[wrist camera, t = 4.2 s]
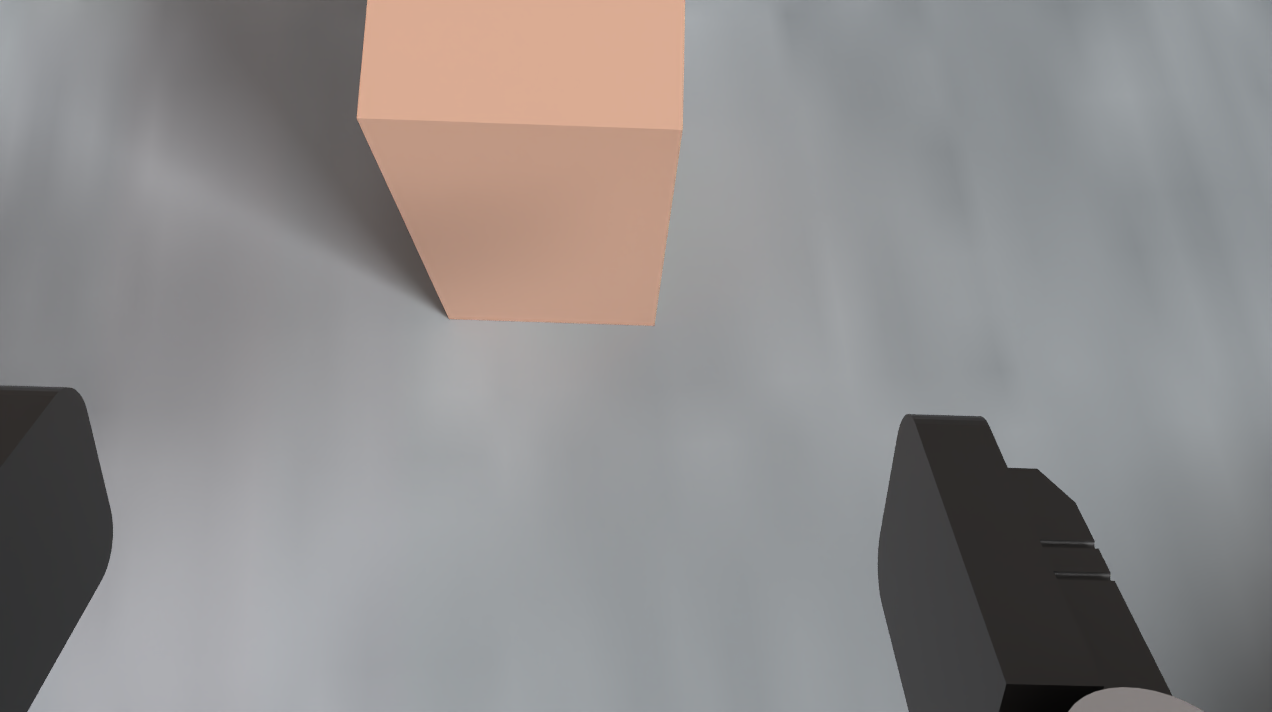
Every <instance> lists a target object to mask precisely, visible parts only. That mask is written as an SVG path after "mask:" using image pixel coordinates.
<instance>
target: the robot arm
mask: <svg viewBox="0 0 1272 712" xmlns="http://www.w3.org/2000/svg"><path fill="white" fill-rule="evenodd" d="M112 540H113V522H112V514H111V509H110V505H109V501H108V496H107V492H106V488H105V484H104V480H103V475H102V471H101V467H100V463H99V459H98V455H97V450H96V446H95V442H94V438H93V434H92V429H91V425H90V421H89V417H88V413H87V409H86V406H85V403H84V401H83V398H82V397H81V395H80V394H79V393H78V392H77V391H76V390H75V389H73V388H67V387H34V386H0V712H27V711H28V709H29V708H30V706H31V704H32V702H33V701H34V699H35V697H36V695H37V694H38V692H39V690H40V688H41V686H42V685H43V683H44V681H45V679H46V678H47V676H48V674H49V672H50V671H51V669H52V667H53V665H54V663H55V662H56V660H57V658H58V656H59V655H60V653H61V651H62V649H63V648H64V646H65V644H66V642H67V640H68V639H69V637H70V635H71V633H72V632H73V630H74V628H75V626H76V625H77V623H78V621H79V619H80V618H81V616H82V614H83V612H84V610H85V609H86V607H87V605H88V603H89V602H90V600H91V598H92V596H93V595H94V593H95V591H96V589H97V587H98V586H99V584H100V582H101V580H102V578H103V576H104V574H105V572H106V569H107V566H108V563H109V559H110V554H111V549H112ZM1094 542H1095V541H1094V539H1093V537H1092V535H1091V533H1090V531H1089V529H1088V527H1087V525H1086V523H1085V521H1084V519H1083V517H1082V515H1081V513H1080V511H1079V509H1078V507H1077V505H1076V503H1075V502H1074V501H1073V500H1072V499H1071V498H1069V497H1068V496H1067V495H1066V494H1065V493H1064V492H1063V491H1062V490H1060V489H1059V488H1058V487H1057V486H1056V485H1055V484H1054V483H1053V482H1051V481H1050V480H1049V479H1048V478H1047V477H1046V476H1045V475H1044V474H1042V473H1041V472H1040V471H1039V470H1038V469H1026V468H1007V465H1006V463H1005V461H1004V459H1003V456H1002V454H1001V452H1000V449H999V447H998V445H997V443H996V440H995V438H994V436H993V434H992V431H991V429H990V427H989V425H988V423H987V421H986V420H985V419H984V418H983V417H981V416H949V415H915V414H907V415H905V416H904V418H903V419H902V422H901V424H900V427H899V431H898V436H897V441H896V447H895V453H894V458H893V464H892V470H891V475H890V481H889V487H888V492H887V498H886V504H885V509H884V515H883V521H882V526H881V532H880V538H879V548H878V580H879V590H880V597H881V602H882V606H883V610H884V614H885V618H886V622H887V626H888V630H889V634H890V638H891V642H892V646H893V650H894V654H895V658H896V662H897V666H898V670H899V674H900V678H901V682H902V686H903V690H904V694H905V698H906V702H907V706H908V710H909V712H1204V711H1203V710H1201V709H1199V708H1197V707H1195V706H1193V705H1191V704H1189V703H1188V702H1185V701H1183V700H1180V699H1178V698H1175V697H1173V696H1172V694H1171V692H1170V690H1169V688H1168V686H1167V684H1166V682H1165V680H1164V678H1163V676H1162V674H1161V672H1160V670H1159V668H1158V666H1157V664H1156V662H1155V660H1154V658H1153V656H1152V654H1151V652H1150V650H1149V648H1148V646H1147V645H1146V643H1145V641H1144V639H1143V637H1142V635H1141V633H1140V631H1139V629H1138V627H1137V625H1136V623H1135V621H1134V619H1133V617H1132V615H1131V613H1130V611H1129V609H1128V607H1127V605H1126V603H1125V601H1124V599H1123V597H1122V595H1121V593H1120V591H1119V589H1118V587H1117V585H1116V583H1115V581H1111V580H1110V571H1109V569H1108V567H1107V565H1106V563H1105V561H1104V559H1103V557H1102V555H1101V553H1100V551H1099V549H1095V547H1094Z"/></svg>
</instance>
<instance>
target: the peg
mask: <svg viewBox="0 0 1272 712" xmlns="http://www.w3.org/2000/svg"><path fill="white" fill-rule="evenodd" d="M684 30H685V0H367V10H366V21H365V32H364V43H363V54H362V65H361V76H360V87H359V98H358V109H357V120H358V122H359V124H360V127H361V129H362V131H363V133H364V135H365V137H366V140H367V142H368V144H369V146H370V148H371V151H372V153H373V155H374V157H375V159H376V161H377V164H378V166H379V168H380V170H381V172H382V174H383V177H384V179H385V181H386V183H387V185H388V187H389V190H390V192H391V194H392V196H393V198H394V200H395V203H396V205H397V207H398V209H399V211H400V214H401V216H402V218H403V220H404V222H405V224H406V227H407V229H408V231H409V233H410V235H411V237H412V240H413V242H414V244H415V246H416V248H417V250H418V253H419V255H420V257H421V259H422V261H423V263H424V266H425V268H426V270H427V272H428V274H429V277H430V279H431V281H432V283H433V285H434V287H435V290H436V292H437V294H438V296H439V298H440V300H441V303H442V305H443V307H444V309H445V311H446V313H447V316H448V318H449V319H464V320H494V321H525V322H555V323H585V324H615V325H646V326H654V324H655V317H656V310H657V303H658V297H659V290H660V283H661V276H662V269H663V262H664V255H665V248H666V241H667V234H668V227H669V220H670V213H671V206H672V199H673V193H674V186H675V179H676V172H677V165H678V158H679V151H680V144H681V137H682V130H683V81H684Z"/></svg>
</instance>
